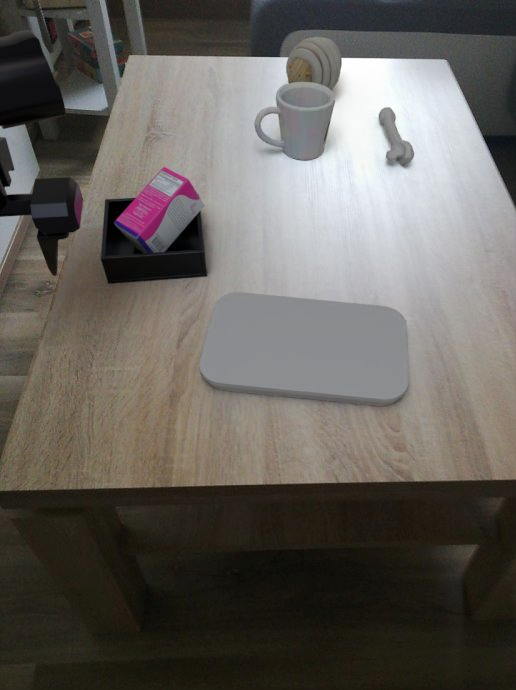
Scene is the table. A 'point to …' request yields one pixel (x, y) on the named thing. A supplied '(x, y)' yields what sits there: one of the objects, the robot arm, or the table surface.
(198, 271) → the black open box
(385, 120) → the bone
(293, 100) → the mug
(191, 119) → the table surface
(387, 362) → the tablet
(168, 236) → the supplement box
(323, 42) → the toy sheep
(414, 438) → the table surface
